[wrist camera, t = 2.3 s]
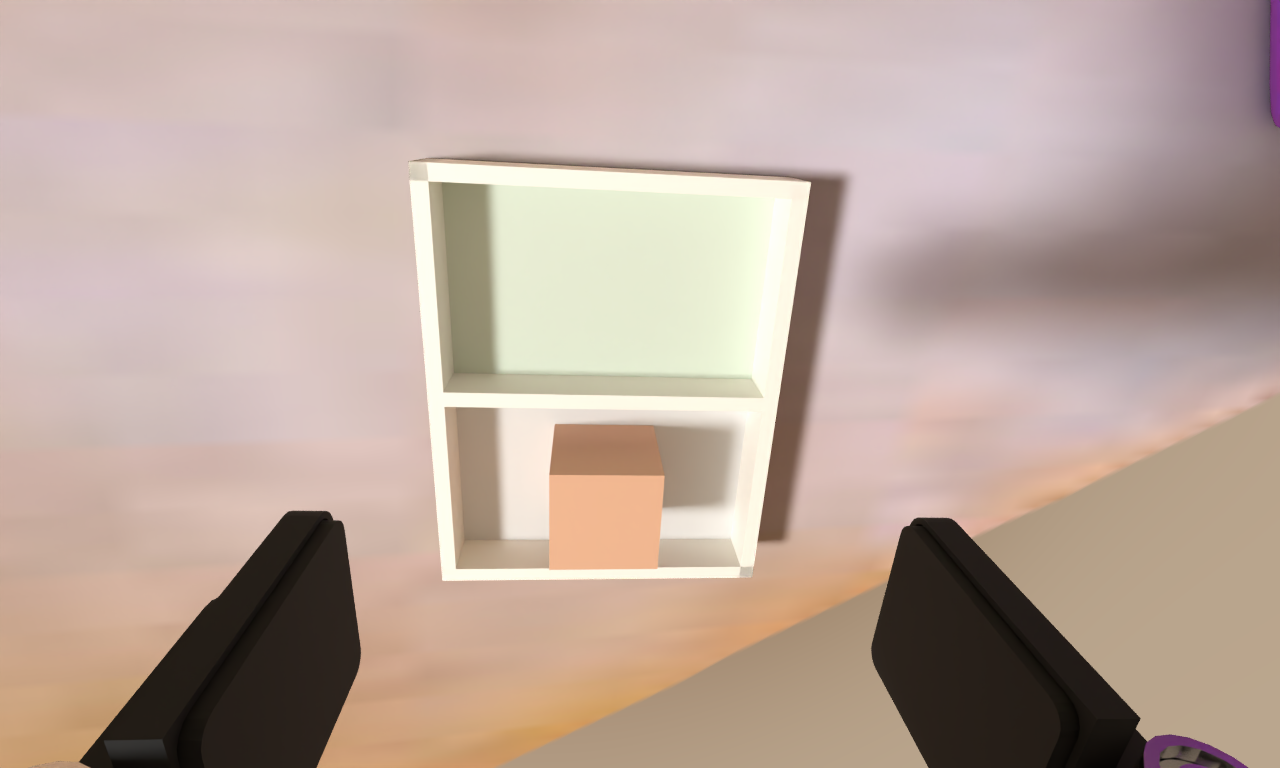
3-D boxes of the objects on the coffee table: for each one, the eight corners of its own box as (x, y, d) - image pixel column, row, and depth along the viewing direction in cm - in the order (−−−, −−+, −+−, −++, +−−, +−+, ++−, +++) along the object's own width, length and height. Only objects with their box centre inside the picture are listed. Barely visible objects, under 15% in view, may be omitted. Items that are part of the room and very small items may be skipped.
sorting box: (426, 158, 27) (408, 161, 24) (789, 177, 28) (811, 182, 25) (454, 544, 34) (442, 580, 31) (739, 542, 36) (752, 577, 33)
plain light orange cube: (554, 424, 31) (549, 475, 27) (653, 425, 32) (664, 475, 27) (554, 508, 33) (549, 569, 28) (647, 508, 33) (657, 568, 29)
